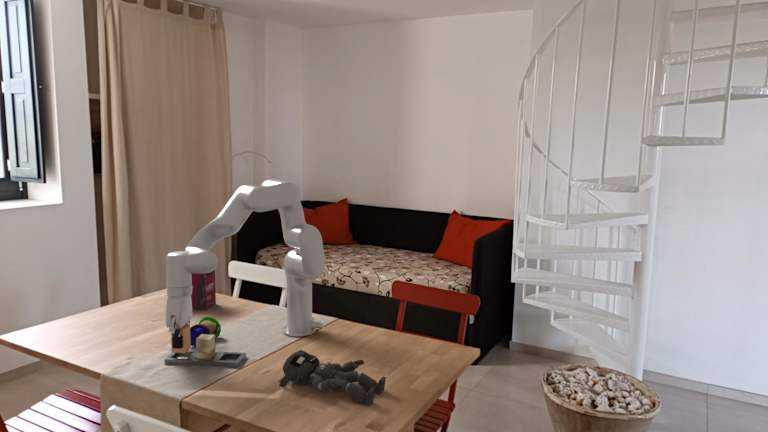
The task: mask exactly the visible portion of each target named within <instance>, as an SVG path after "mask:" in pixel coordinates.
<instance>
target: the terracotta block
mask: <svg viewBox="0 0 768 432" xmlns="http://www.w3.org/2000/svg"><path fill="white" fill-rule="evenodd" d="M175 326H177V327H178V325H175ZM190 328H191V323H190V324H185V325H184V326H183V327H182V333H181V336H183V348H181V349H180V348H173V347H172V336H171V335H170V336H171V338H170V339H171V340H170V341H171V342H170V344H171V353H186V352H187V351H188V350H191V349H192V346H191V340H190ZM175 330H177V331H179V329H175Z"/></svg>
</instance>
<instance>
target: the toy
mask: <svg viewBox="0 0 768 432" xmlns="http://www.w3.org/2000/svg"><path fill="white" fill-rule="evenodd" d="M221 326H222V325H221V324H220V322H219V321H218V320H217V319H216V318H214V317H211V316H204V317H203V318H201V319H200V320H199V322H198V323H197V324H193V325H192V326H190V340H191V347H193V346H195V345H196V339H197V338H198V337H199V336H200V335H201V334H208V335H215V339H217V338H218V337H219V336H220V334H221V332H222V329H221V328H222V327H221Z"/></svg>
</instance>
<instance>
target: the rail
mask: <svg viewBox="0 0 768 432" xmlns="http://www.w3.org/2000/svg"><path fill="white" fill-rule="evenodd" d="M246 358H247V352H233V351H216V350H215V356H214V357H213V359H212V360H201V359H197V353H196V350H191V349H189V350H188V351H187V352H186V353H172V352H171V353H170V354H169V355H168V356H166V357H165V358H164V364H165V365H177V366H179V365H181V366H202V367H223V368H239V367H240V366H241V365H242V363H243V362H244V361H245V359H246Z"/></svg>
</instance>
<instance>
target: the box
mask: <svg viewBox="0 0 768 432" xmlns="http://www.w3.org/2000/svg"><path fill="white" fill-rule="evenodd" d="M216 298H217V296H216V269H215V270H213V271H212V272H209V273H204V274H192V295H191V300H192V311H193V310H194V311H208V310H209V309H210V308H213V307H214V306H215V305H217V303H216V302H217V299H216Z"/></svg>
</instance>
